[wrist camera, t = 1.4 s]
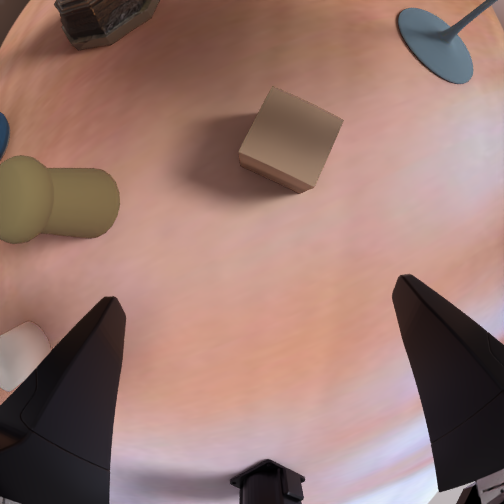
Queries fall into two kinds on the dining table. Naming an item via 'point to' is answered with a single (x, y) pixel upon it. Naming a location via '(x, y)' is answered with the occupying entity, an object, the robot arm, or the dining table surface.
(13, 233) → the cork
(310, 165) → the walnut block
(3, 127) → the soda can
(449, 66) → the cocktail glass
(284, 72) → the dining table surface
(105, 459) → the robot arm
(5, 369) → the off-white cylinder
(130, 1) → the bird statue
